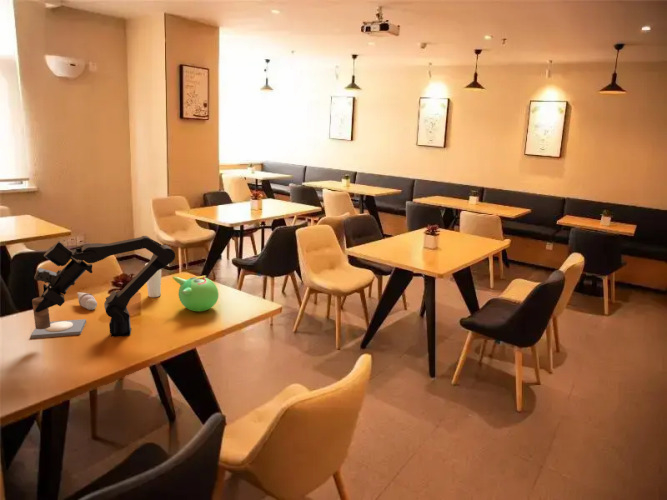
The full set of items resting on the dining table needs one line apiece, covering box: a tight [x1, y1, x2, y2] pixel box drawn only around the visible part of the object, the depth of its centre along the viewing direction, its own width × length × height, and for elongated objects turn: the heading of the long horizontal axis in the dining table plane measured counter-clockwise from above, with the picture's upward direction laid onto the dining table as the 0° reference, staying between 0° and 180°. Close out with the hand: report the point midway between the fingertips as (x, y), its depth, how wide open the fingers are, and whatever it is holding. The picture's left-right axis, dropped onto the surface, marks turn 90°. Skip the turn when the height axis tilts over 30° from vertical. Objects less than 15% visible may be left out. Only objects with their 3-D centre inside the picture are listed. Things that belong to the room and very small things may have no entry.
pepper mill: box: [31, 296, 51, 329], centre depth 167 cm, size 4×4×10 cm
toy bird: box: [172, 275, 219, 312], centre depth 206 cm, size 18×17×15 cm
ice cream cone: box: [76, 291, 98, 311], centre depth 206 cm, size 6×6×15 cm
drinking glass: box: [144, 262, 162, 298], centre depth 220 cm, size 7×7×15 cm
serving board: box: [30, 318, 87, 339], centre depth 183 cm, size 16×12×2 cm
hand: (36, 309), depth 166 cm, fingers closed on pepper mill, 4 cm apart
